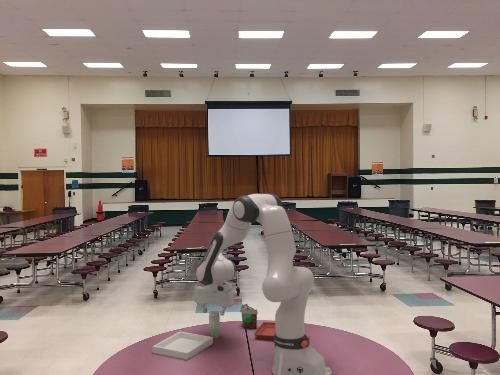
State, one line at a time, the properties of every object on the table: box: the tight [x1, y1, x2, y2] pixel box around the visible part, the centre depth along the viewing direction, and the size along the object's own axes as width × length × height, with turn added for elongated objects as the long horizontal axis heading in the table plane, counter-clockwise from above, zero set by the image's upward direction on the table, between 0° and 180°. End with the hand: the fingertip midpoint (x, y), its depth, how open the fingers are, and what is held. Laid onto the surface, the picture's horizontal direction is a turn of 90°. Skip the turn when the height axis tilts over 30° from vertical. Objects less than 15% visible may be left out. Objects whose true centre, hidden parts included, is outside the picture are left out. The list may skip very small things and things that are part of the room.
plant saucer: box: [253, 321, 276, 341], centre depth 204 cm, size 18×18×3 cm
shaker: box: [208, 310, 221, 340], centre depth 203 cm, size 5×5×12 cm
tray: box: [151, 331, 214, 361], centre depth 189 cm, size 18×20×3 cm
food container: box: [239, 303, 258, 330], centre depth 216 cm, size 12×6×10 cm, turn 25°
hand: (213, 313), depth 203 cm, fingers open, 8 cm apart
